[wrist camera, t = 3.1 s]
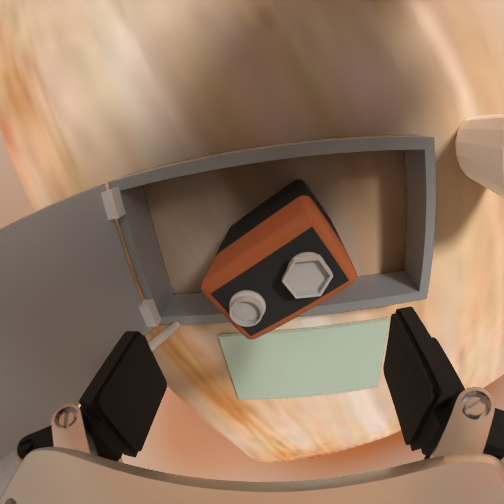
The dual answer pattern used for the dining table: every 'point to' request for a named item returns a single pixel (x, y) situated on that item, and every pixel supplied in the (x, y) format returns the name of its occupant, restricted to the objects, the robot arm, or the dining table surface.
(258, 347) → the rubber mat
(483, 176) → the shot glass
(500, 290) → the dining table surface
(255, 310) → the battery
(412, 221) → the case
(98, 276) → the case lid
